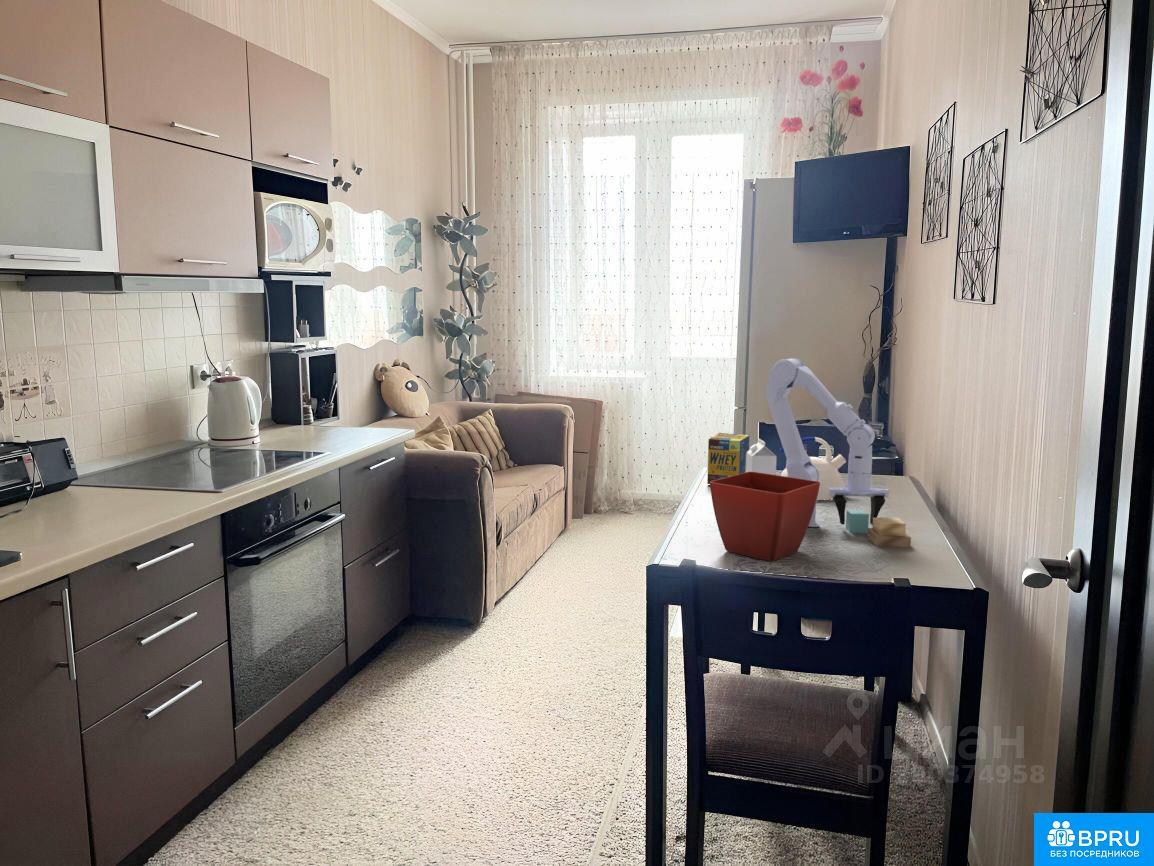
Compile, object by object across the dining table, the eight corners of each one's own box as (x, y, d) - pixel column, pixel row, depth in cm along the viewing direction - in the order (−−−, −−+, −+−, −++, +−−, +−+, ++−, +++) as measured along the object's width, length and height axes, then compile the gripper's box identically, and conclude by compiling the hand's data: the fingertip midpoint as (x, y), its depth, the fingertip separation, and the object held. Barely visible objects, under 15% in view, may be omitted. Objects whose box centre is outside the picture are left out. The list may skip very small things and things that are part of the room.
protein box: (706, 486, 276) (708, 438, 274) (718, 477, 290) (719, 432, 288) (738, 488, 272) (740, 440, 270) (748, 480, 286) (750, 434, 284)
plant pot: (819, 551, 201) (822, 480, 198) (779, 568, 187) (782, 493, 184) (748, 536, 213) (750, 470, 211) (705, 552, 199) (707, 481, 197)
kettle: (854, 501, 254) (857, 441, 252) (784, 501, 255) (786, 441, 252) (835, 487, 274) (837, 432, 272) (770, 487, 275) (772, 431, 272)
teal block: (849, 532, 218) (850, 513, 217) (845, 528, 222) (846, 509, 221) (867, 533, 217) (868, 514, 217) (863, 528, 222) (864, 510, 221)
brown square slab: (876, 548, 205) (876, 536, 204) (867, 539, 213) (868, 528, 212) (910, 549, 204) (911, 537, 204) (900, 540, 212) (900, 528, 212)
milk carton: (768, 502, 253) (770, 438, 250) (774, 507, 246) (777, 442, 243) (744, 502, 252) (746, 438, 250) (750, 507, 245) (752, 442, 243)
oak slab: (879, 535, 205) (880, 523, 205) (872, 529, 211) (872, 517, 211) (905, 535, 205) (905, 523, 205) (896, 529, 211) (897, 517, 211)
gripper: (834, 474, 214) (832, 527, 216) (893, 475, 213) (890, 528, 215) (828, 469, 221) (826, 520, 223) (885, 470, 220) (882, 521, 222)
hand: (857, 523), depth 219 cm, fingers open, 7 cm apart
